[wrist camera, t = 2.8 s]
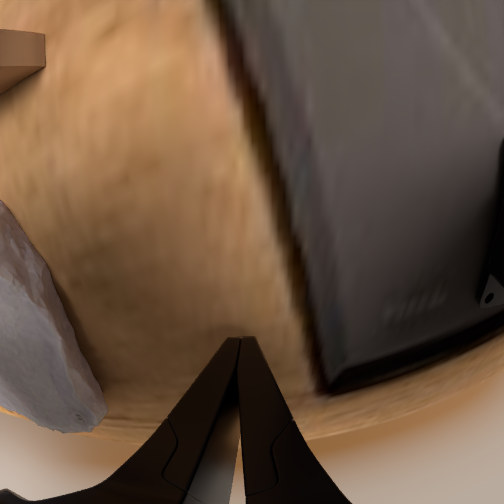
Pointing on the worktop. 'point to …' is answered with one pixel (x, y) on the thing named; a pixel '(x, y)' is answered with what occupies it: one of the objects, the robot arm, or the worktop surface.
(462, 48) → the worktop surface
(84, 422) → the stone block
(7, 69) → the corner walls
